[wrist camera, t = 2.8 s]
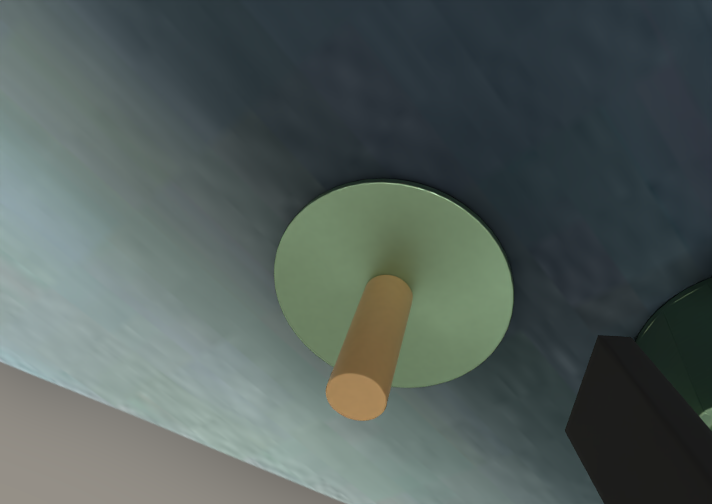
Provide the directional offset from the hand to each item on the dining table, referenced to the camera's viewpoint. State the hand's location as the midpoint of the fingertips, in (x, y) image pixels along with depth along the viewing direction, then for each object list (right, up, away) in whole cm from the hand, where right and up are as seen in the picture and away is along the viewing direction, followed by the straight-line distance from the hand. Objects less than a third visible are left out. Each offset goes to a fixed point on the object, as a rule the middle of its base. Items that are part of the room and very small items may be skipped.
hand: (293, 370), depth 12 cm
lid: (+3, 0, +23) cm, 24 cm away
